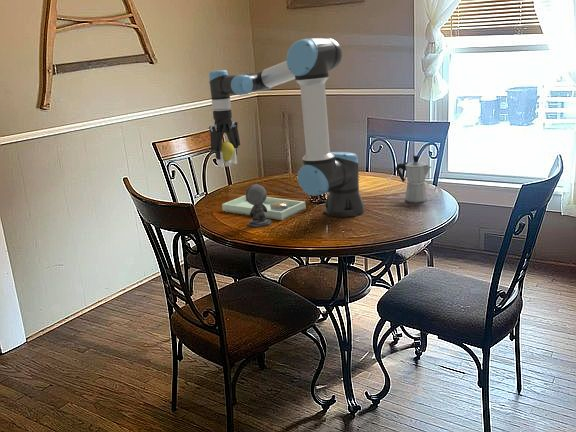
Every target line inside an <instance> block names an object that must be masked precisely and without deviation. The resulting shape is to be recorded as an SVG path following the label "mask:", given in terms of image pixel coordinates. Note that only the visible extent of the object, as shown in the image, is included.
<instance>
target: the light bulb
mask: <svg viewBox="0 0 576 432" xmlns="http://www.w3.org/2000/svg"><path fill="white" fill-rule="evenodd" d="M220 151H222V154H223V164H224V167H231V166H232V165H231V164H232V163H231V157H232V156H233V153H234V147H233V145H232V144H231V143H230V142H229V141H222V144H221V150H220Z"/></svg>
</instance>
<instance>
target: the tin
mask: <svg viewBox="0 0 576 432" xmlns="http://www.w3.org/2000/svg"><path fill="white" fill-rule="evenodd" d="M270 208H271V210H273V211H283V210H286V209H288V203H286V202H274V203H272V204H271V205H270Z"/></svg>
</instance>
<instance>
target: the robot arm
mask: <svg viewBox="0 0 576 432" xmlns="http://www.w3.org/2000/svg"><path fill="white" fill-rule="evenodd" d="M342 59H343V50H342V47H341V45H340V43H339V42H338V41H336V40H335V39H333V38H331V37H316V38H315V37H314V38H313V37H310V38H307V37H306V38H302V39H299V40H296V41H295V42H293V43H292V44H291V46H290V47H289V48H288V51H287V54H286V60H285V61H282V62H279V63H277V64H275V65H272V66H269V67H267V68H265V69H263V70H259V71H256V72H249V73H241V74H230V75H229V74H228V70H227V69H221V70H211V71H209V72H208V73H209V74H208V78H209V79H208V81H209V82H208V83H209V90H210V98H211V106H212V110H213V111H212V115H213V116H212V117H213V118H212V119H213V120H214V124H213V125H212V126H211V125H210V126H208V129H209V133H210V134H209V137H210V150H211V151H212V152H214V153H215V159H216V160H217V167H218V168H224V167H225V164H224V159H223V154H222V151H220V150H221V144H222V143H223V136H224V134H226V137H227V139H228V142H229V143H231V144H232V145H233V147H234V153H233V156H232V157H231V159H230V160H231V164H234V165H237V164H238V159H237V156H238V150H237V149H239V146H241V141H240V140H241V139H240V136H239V129H238V127H239V126H238V122H237V121H232V118H233V113H232V109H231V108H232V104H231V95H233V96H234V95H236V96H237V95H238V96H245V95H248V94H250V93H257V92H266V91H269V90H271V89H272V88H273V87H276V86H278V85H282V84H285V83H287V82H290V81H293V80H295V82H296V83H297V84H298V85H299V87H300V88H299V89H300V98H301V99H300V100H301V108H302V119H303V121H302V122H303V131H304V132H303V133H304V142H305V143H304V146H305V154H304V155H303V157H302V166H301V167H300V168H299V170H298V171H297V181H298V184H299V187H300V188H301V190H303V191H304V193H306V194H307V195H310V196H313V197H317V196H320V195H321V196H323V195H326V194H327V193H328V194H327V197H326V200H325V205H324V213H325V214H326V215H328V216H330V217H335V218H336V217H338V218H345V217H346V218H347V217H348V218H349V217H355V216H359V215H362V214H363V213H365V205H364V202H363V199H362V196H361V194H360V188H359V187H360V186H359V185H360V182H359V181H360V179H359V164H360V163H359V158H358V155H357V154H356V153H354V152H349V151H331V147H330V135H329V120H328V109H327V92H326V82H327V80H328V79H330V77H329V72H330V71H333V70H336V68H337V67H338V66H340V64H341V62H342Z"/></svg>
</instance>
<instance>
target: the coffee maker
mask: <svg viewBox="0 0 576 432" xmlns="http://www.w3.org/2000/svg"><path fill="white" fill-rule="evenodd" d="M419 156H420V155H413V156H412V157H413V158H412V159H413V161H412V162H408V161H405V162H402V163H401V162H400V163H397V165H396V167H395V171H396V172H397V174H398V176H399V177H400V180H401V181H402V183H404V182H405V181H406V180H407V182H408V183H407V184H406V192H405V196H404V197H405V198H404V200H405V201H406V202H407V203H414V204H415V203H416V204H418V203H424V202H427V201H428V196H427V189H426V184H425V183H424V182H425V180H426V176H427V174H428V173H429V171H430V169H431V168H432V166H429V164H428V163H425V162H422V161H419V158H420V157H419ZM400 169H401V170H403V171H405V172H406V178H405V177H404V175H403V174H402V172H401V170H400Z"/></svg>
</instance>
